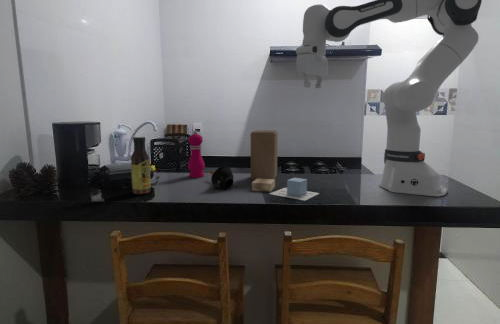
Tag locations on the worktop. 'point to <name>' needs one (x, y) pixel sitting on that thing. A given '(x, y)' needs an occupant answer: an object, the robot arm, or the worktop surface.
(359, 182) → the worktop surface
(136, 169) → the sauce bottle
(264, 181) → the oak block
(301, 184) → the blue cube
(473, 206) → the worktop surface
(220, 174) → the black rounded dome
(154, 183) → the worktop surface
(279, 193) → the recipe card
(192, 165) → the pepper mill
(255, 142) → the block
